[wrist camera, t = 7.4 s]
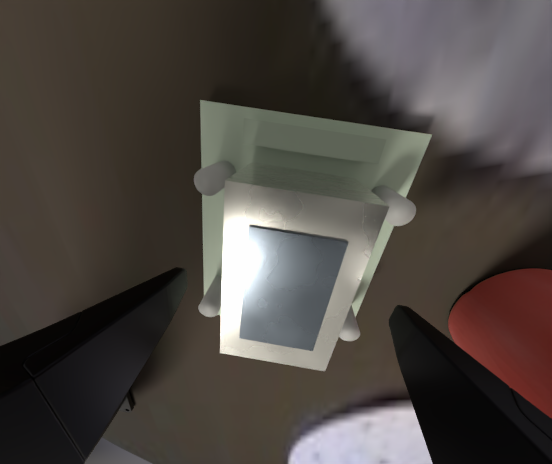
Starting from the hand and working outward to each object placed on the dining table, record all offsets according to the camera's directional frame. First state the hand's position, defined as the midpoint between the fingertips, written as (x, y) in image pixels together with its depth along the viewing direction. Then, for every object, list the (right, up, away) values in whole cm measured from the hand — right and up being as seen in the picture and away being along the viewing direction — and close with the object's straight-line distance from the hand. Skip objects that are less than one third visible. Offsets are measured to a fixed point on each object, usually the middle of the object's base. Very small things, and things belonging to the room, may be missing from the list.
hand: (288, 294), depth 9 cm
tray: (0, +2, +5) cm, 5 cm away
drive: (0, +2, +4) cm, 4 cm away
